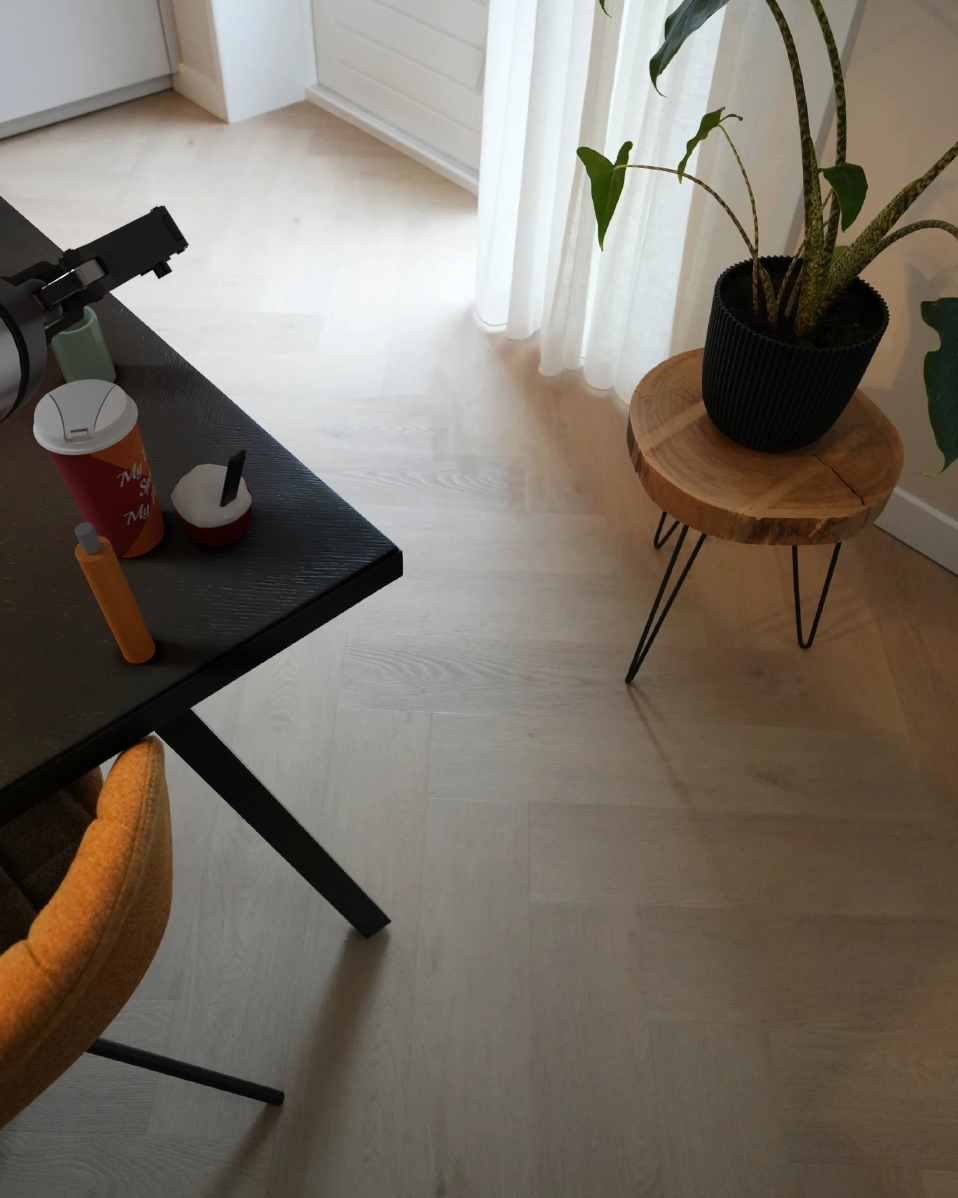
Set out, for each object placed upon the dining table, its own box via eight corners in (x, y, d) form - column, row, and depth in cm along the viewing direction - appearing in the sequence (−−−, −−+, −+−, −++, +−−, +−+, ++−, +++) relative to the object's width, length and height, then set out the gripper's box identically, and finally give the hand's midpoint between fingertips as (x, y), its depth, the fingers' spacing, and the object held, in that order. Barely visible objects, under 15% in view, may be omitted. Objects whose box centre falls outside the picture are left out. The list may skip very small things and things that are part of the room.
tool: (118, 660, 75) (58, 538, 64) (132, 636, 76) (75, 512, 65) (147, 666, 75) (91, 544, 64) (160, 641, 76) (108, 518, 65)
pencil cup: (58, 390, 95) (33, 330, 90) (81, 360, 98) (58, 301, 93) (102, 397, 95) (80, 337, 89) (124, 367, 98) (103, 307, 92)
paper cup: (178, 559, 81) (132, 432, 71) (84, 574, 80) (23, 447, 69) (176, 495, 86) (133, 367, 75) (87, 508, 85) (31, 380, 74)
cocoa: (172, 511, 85) (135, 404, 76) (240, 488, 87) (212, 380, 77) (206, 584, 80) (170, 479, 70) (277, 558, 82) (252, 452, 72)
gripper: (-218, 549, 47) (-52, 433, 66) (218, 298, 44) (261, 252, 64) (-344, 417, 44) (-131, 335, 63) (118, 137, 41) (194, 140, 60)
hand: (66, 293), depth 63 cm, fingers open, 13 cm apart
